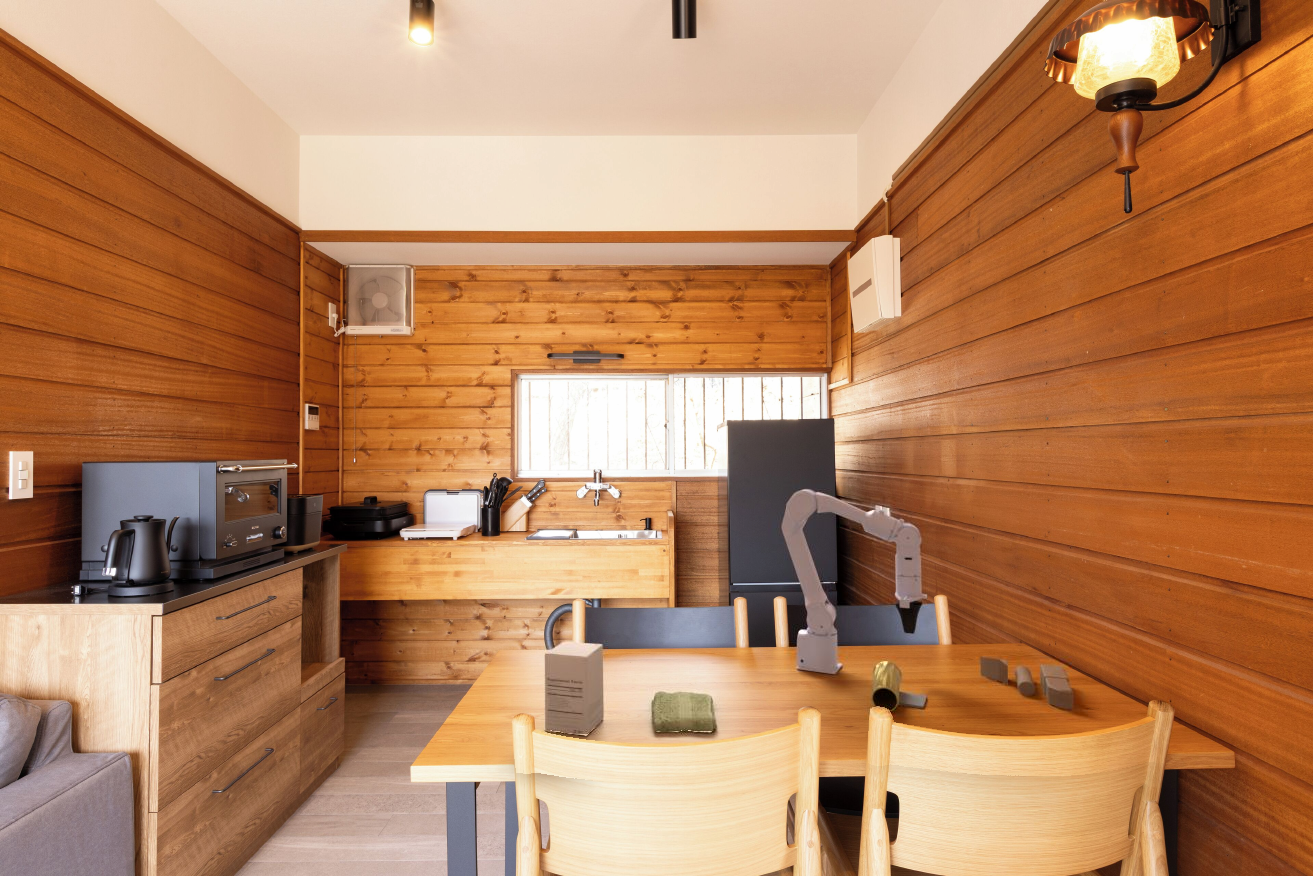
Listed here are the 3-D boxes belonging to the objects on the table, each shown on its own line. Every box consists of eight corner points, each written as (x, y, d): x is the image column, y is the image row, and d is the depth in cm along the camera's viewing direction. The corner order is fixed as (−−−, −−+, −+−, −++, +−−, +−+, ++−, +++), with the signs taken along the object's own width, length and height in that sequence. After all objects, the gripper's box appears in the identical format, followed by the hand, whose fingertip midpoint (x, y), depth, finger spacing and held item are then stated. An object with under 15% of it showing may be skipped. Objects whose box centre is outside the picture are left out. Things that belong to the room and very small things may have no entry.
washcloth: (712, 702, 141) (712, 687, 141) (718, 736, 123) (718, 719, 124) (651, 702, 141) (651, 687, 142) (648, 736, 124) (648, 719, 124)
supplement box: (563, 714, 134) (563, 640, 134) (604, 719, 131) (604, 643, 132) (543, 732, 125) (543, 652, 126) (586, 737, 122) (586, 656, 123)
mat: (872, 700, 140) (872, 698, 140) (878, 690, 146) (878, 688, 146) (923, 708, 135) (923, 706, 135) (926, 698, 142) (926, 695, 142)
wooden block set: (1062, 660, 150) (1074, 685, 134) (1063, 685, 150) (1075, 714, 134) (980, 651, 157) (981, 674, 141) (980, 675, 157) (982, 701, 141)
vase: (906, 669, 145) (905, 694, 131) (895, 693, 146) (893, 720, 132) (879, 656, 147) (875, 679, 133) (868, 679, 148) (864, 705, 134)
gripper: (922, 581, 148) (923, 642, 147) (930, 571, 161) (931, 627, 160) (889, 578, 151) (890, 638, 151) (899, 569, 164) (900, 624, 164)
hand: (909, 632), depth 156 cm, fingers closed
